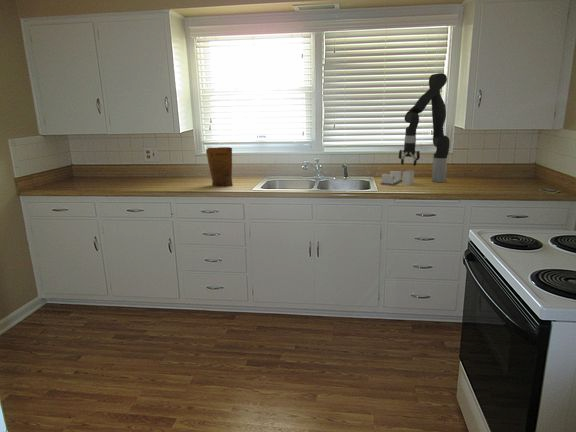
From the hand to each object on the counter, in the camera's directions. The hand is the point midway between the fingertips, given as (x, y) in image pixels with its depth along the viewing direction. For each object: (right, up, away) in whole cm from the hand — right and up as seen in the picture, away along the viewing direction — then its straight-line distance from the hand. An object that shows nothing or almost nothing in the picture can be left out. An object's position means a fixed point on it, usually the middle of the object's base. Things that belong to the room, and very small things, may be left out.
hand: (408, 165), depth 302 cm
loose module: (0, -13, +3) cm, 13 cm away
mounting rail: (-10, -12, +9) cm, 18 cm away
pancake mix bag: (-133, -14, +10) cm, 134 cm away
